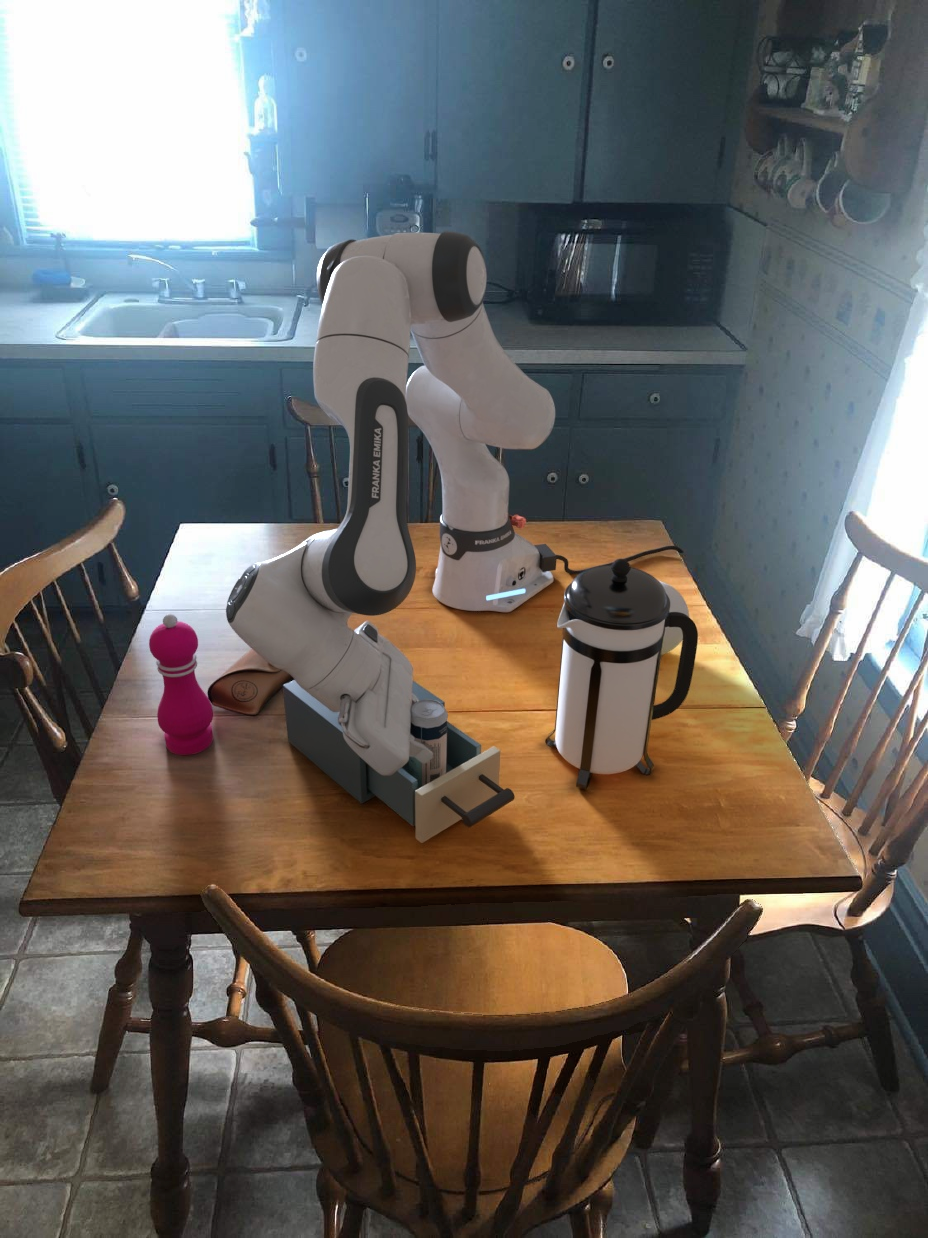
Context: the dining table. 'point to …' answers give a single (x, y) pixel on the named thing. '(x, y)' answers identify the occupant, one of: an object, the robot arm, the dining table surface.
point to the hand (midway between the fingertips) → (429, 740)
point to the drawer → (446, 788)
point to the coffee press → (615, 668)
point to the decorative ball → (676, 605)
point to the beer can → (429, 739)
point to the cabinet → (329, 738)
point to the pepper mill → (181, 689)
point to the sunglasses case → (247, 685)
